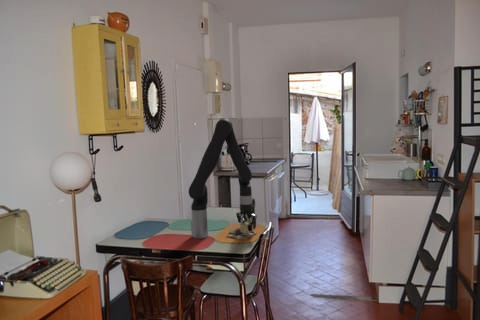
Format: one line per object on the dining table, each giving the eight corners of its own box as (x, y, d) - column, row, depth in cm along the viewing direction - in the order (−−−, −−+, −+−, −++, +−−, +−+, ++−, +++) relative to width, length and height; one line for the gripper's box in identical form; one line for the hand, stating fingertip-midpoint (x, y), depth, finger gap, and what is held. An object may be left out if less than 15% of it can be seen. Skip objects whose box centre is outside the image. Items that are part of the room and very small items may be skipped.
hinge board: (226, 236, 241) (226, 230, 241) (239, 230, 252) (239, 225, 251) (244, 240, 234) (244, 234, 233) (256, 234, 244) (256, 228, 244)
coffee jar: (257, 224, 264) (256, 197, 262) (254, 228, 256) (253, 200, 254) (243, 224, 267) (242, 196, 264) (240, 227, 259) (238, 199, 257)
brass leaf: (240, 232, 239) (240, 224, 238) (247, 229, 244) (246, 221, 244) (246, 233, 236) (246, 225, 235) (253, 230, 242) (253, 222, 241)
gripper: (232, 202, 239) (233, 230, 241) (252, 205, 231) (253, 233, 233) (239, 200, 245) (240, 227, 247) (259, 202, 237) (260, 230, 239)
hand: (246, 230), depth 240 cm, fingers closed on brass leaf, 4 cm apart
